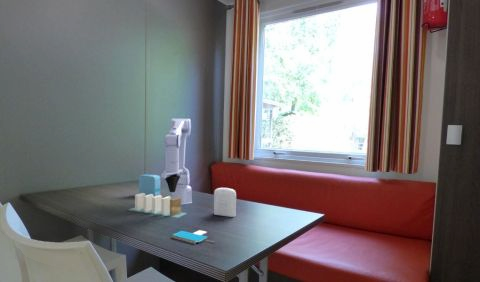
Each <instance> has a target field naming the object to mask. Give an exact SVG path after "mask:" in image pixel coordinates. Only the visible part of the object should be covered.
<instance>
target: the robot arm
mask: <svg viewBox="0 0 480 282" xmlns="http://www.w3.org/2000/svg"><path fill="white" fill-rule="evenodd" d="M191 129H192V121H191V119H190V118H174V117H173V118H171V120H170V130H169V131H168V134H166V135H164V138H163V145H164V152H165V170H163V172H162V173H160V179H164V180H165V182H166V184H167V187H168V191H169V193H172V195H171V199H174V198H178V197H179V198H181V206H182V205H188V204H193V199H192V196H193V195H192V193H193V190H192V187H191V186H190V177H191V175H190V170H189V169H188V168H186V167H185V162H186V143H187V137H189V136H191V131H192V130H191Z"/></svg>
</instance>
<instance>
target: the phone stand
mask: <svg viewBox="0 0 480 282" xmlns="http://www.w3.org/2000/svg"><path fill="white" fill-rule="evenodd" d="M207 233H208V231H205V230H201V229H199V230H196V231H194V232H188V231H185V230H180V231H178V232H175V233H173V234H171V239H174V240H179V241H183V242H185V243H186V242H187V243H190V244H193V245H196V244H200V243H204V242H206V243H212V244H214V243H216V242H217V241H216V240H211V239H208V237H209V236H206V235H205V234H207Z"/></svg>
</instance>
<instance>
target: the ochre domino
mask: <svg viewBox="0 0 480 282" xmlns="http://www.w3.org/2000/svg"><path fill="white" fill-rule="evenodd" d="M181 212H182V205H181V198H179V197H178V198H174V199H172V198H171V199H170V215H171V216H174V215H177V214H180V213H181Z"/></svg>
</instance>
